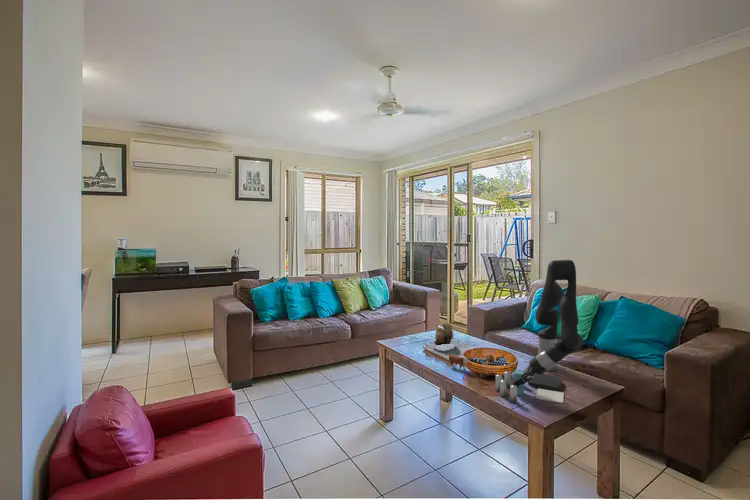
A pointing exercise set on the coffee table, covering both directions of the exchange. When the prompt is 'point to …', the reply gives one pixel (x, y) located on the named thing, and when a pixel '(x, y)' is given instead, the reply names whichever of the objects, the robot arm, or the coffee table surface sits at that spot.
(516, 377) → the teal block
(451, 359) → the bull figurine
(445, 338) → the brown squirrel figurine
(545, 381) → the media streaming box
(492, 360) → the lion figurine
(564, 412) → the coffee table surface
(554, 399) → the tile
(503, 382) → the posts
